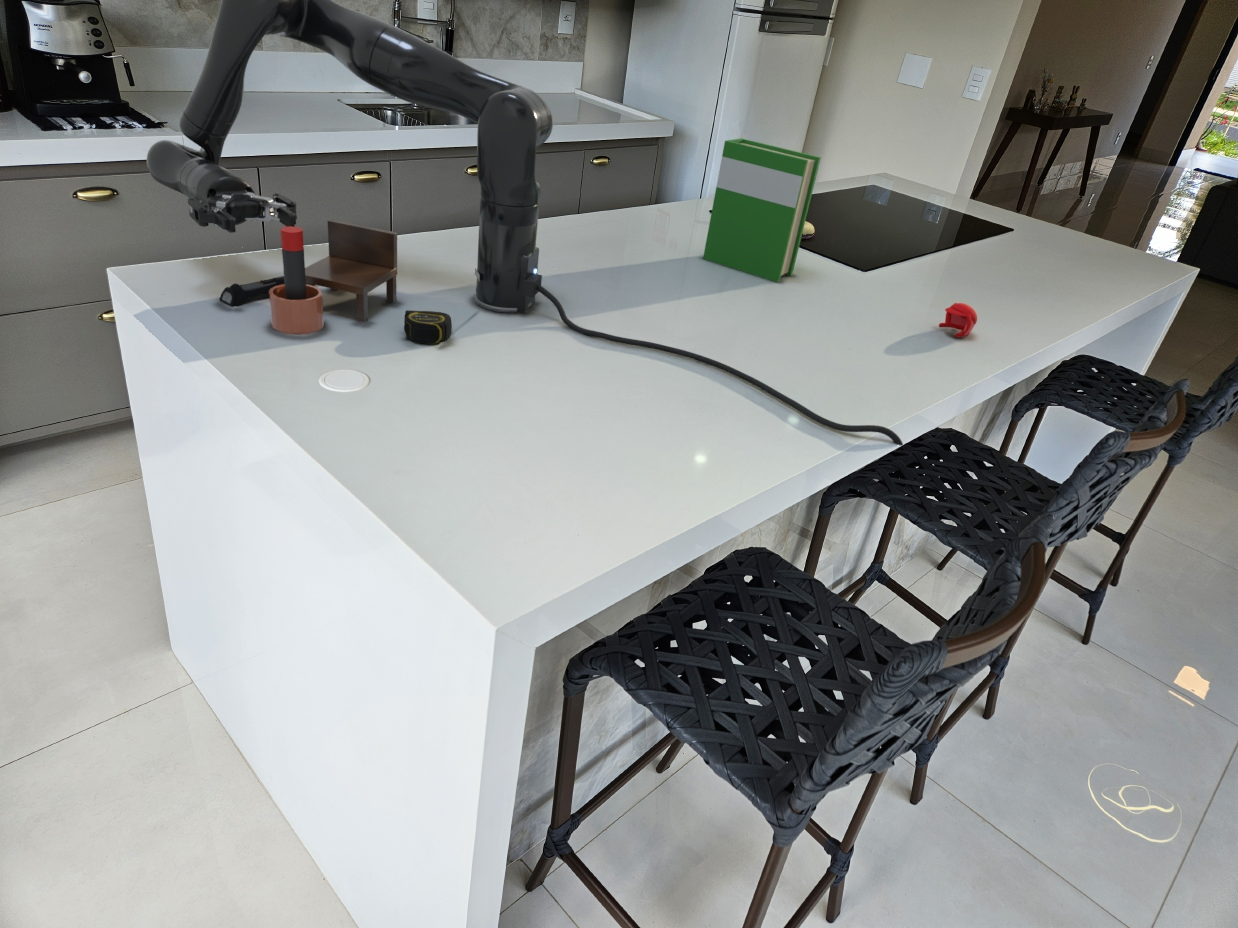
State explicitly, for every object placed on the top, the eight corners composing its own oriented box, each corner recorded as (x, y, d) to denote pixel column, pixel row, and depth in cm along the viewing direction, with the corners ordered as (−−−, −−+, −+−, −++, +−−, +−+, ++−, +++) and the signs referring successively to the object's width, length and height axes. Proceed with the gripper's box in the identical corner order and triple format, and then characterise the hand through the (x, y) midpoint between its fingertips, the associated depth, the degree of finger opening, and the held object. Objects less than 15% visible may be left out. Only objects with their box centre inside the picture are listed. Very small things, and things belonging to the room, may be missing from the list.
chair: (397, 303, 134) (397, 232, 129) (364, 326, 125) (362, 250, 119) (334, 290, 136) (331, 219, 130) (296, 311, 126) (291, 236, 121)
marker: (312, 323, 122) (306, 229, 115) (301, 329, 120) (295, 233, 113) (294, 319, 122) (287, 225, 115) (283, 325, 120) (276, 230, 113)
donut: (772, 236, 212) (773, 239, 203) (773, 217, 210) (774, 220, 201) (812, 236, 210) (815, 240, 202) (813, 217, 209) (816, 220, 200)
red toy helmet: (946, 324, 162) (956, 294, 159) (976, 334, 159) (987, 304, 156) (929, 332, 157) (940, 301, 154) (960, 343, 154) (971, 312, 151)
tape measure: (450, 332, 127) (451, 309, 125) (451, 350, 122) (452, 326, 120) (404, 329, 126) (404, 306, 124) (402, 348, 120) (402, 323, 118)
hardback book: (792, 275, 177) (820, 157, 165) (777, 282, 171) (806, 160, 159) (719, 252, 184) (741, 138, 172) (702, 258, 179) (724, 141, 167)
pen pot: (333, 325, 124) (331, 289, 121) (307, 341, 118) (304, 304, 115) (289, 315, 125) (287, 280, 122) (261, 331, 119) (258, 294, 116)
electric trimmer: (323, 293, 135) (322, 273, 133) (232, 311, 123) (230, 290, 122) (308, 286, 136) (307, 267, 135) (218, 303, 125) (216, 282, 124)
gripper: (168, 170, 124) (208, 200, 115) (264, 167, 133) (309, 194, 124) (175, 221, 128) (214, 253, 118) (268, 214, 137) (312, 244, 127)
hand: (263, 223), depth 121 cm, fingers open, 8 cm apart
